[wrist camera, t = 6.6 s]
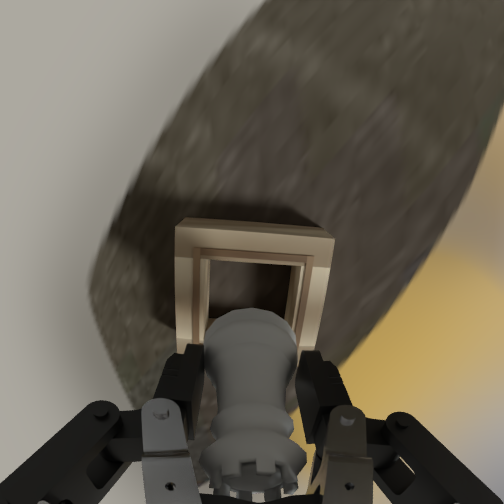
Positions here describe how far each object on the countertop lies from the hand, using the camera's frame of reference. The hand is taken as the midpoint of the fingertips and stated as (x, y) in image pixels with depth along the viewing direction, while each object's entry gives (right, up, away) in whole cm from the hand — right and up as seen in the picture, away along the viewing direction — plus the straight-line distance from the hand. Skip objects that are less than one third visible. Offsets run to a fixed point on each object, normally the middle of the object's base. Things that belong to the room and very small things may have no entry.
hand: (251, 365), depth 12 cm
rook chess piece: (0, +1, +2) cm, 2 cm away
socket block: (0, +3, +8) cm, 9 cm away
